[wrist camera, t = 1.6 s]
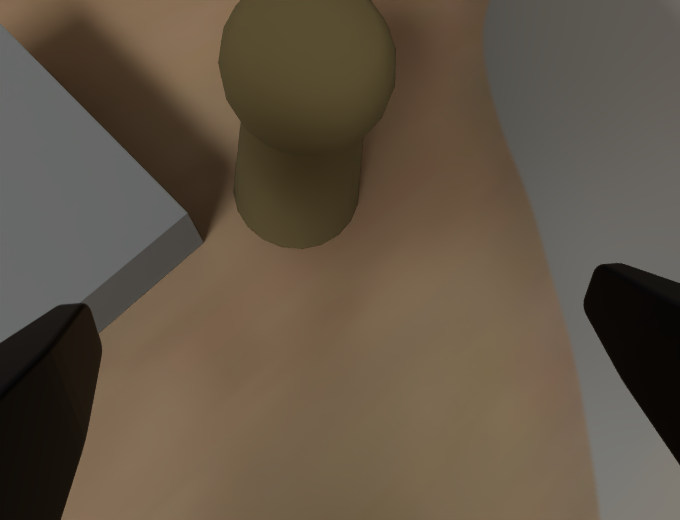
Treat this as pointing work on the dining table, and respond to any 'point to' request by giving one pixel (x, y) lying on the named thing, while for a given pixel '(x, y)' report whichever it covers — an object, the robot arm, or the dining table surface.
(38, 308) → the podium
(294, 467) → the dining table surface
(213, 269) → the dining table surface
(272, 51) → the cork
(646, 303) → the robot arm
